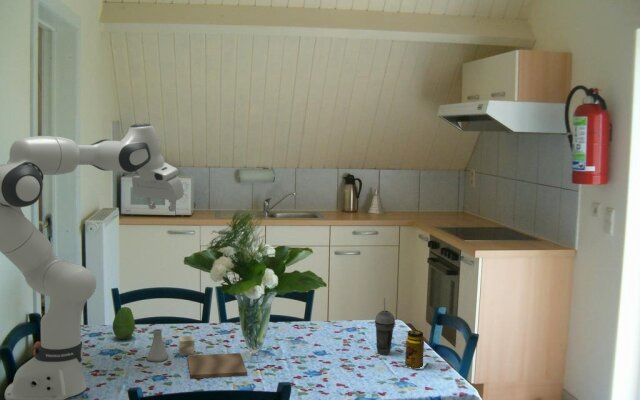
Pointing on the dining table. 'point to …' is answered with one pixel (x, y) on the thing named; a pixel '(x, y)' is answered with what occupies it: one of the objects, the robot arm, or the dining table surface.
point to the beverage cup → (384, 331)
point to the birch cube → (186, 345)
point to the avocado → (124, 323)
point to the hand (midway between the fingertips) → (162, 209)
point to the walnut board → (216, 365)
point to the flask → (157, 347)
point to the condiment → (414, 349)
